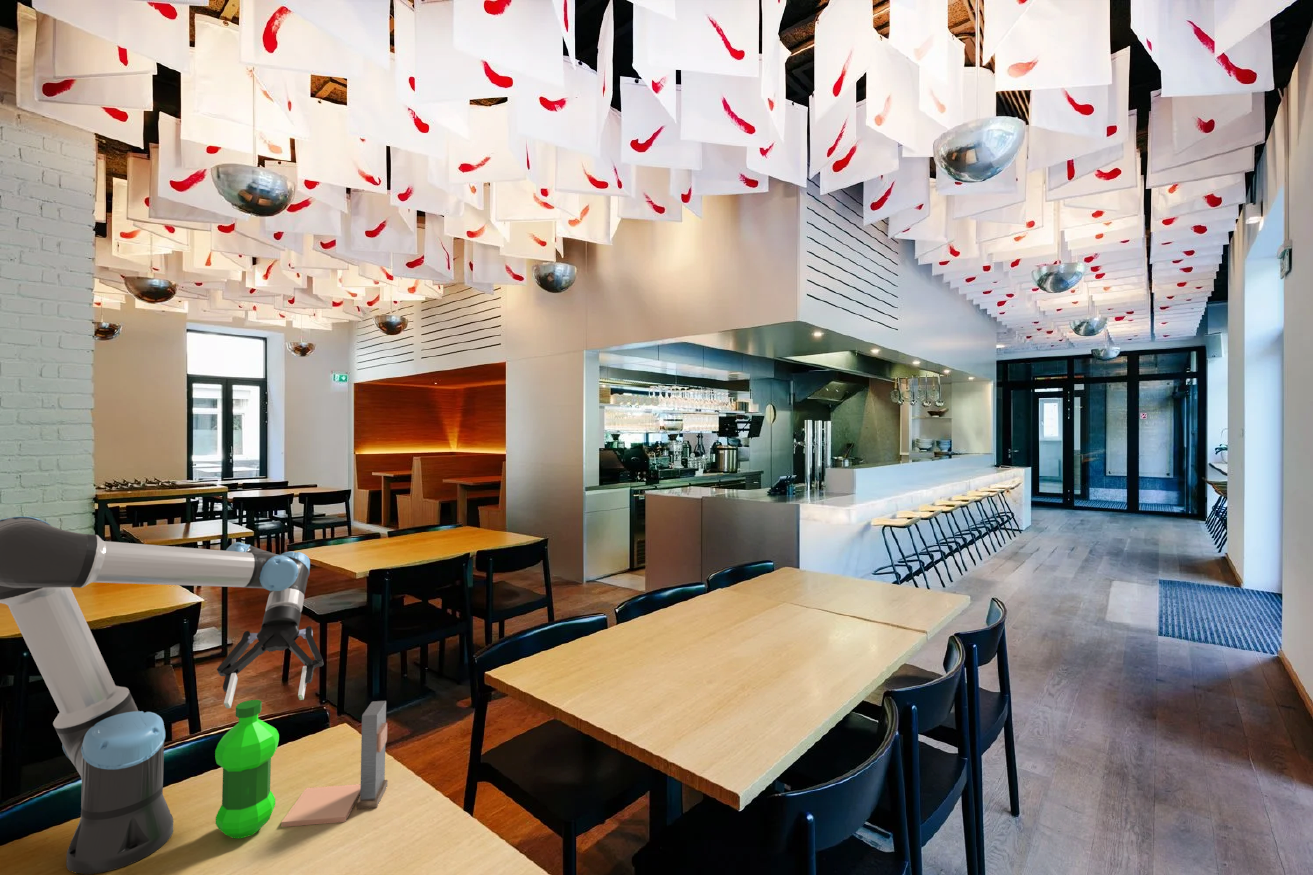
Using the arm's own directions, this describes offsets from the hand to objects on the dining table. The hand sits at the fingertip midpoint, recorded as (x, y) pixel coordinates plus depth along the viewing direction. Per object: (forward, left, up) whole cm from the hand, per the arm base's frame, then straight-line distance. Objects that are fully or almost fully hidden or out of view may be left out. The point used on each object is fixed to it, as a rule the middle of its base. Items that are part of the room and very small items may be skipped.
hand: (264, 701), depth 128 cm
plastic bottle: (+1, -10, -22) cm, 24 cm away
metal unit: (+23, -2, -22) cm, 31 cm away
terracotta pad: (+14, -4, -22) cm, 26 cm away
